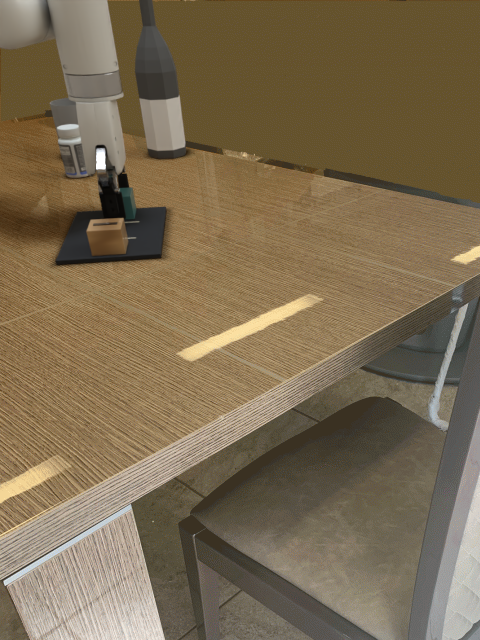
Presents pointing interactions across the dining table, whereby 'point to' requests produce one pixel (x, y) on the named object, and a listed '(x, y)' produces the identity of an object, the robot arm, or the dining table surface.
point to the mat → (140, 233)
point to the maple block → (107, 236)
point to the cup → (64, 112)
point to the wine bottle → (158, 90)
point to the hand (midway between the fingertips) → (118, 209)
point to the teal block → (128, 202)
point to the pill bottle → (71, 151)
